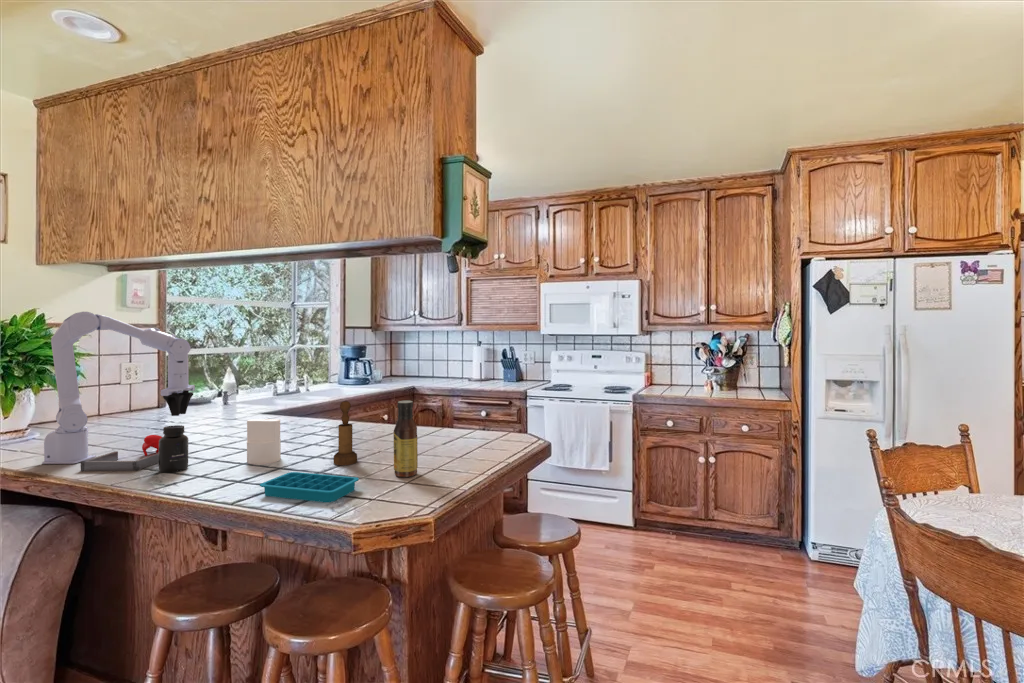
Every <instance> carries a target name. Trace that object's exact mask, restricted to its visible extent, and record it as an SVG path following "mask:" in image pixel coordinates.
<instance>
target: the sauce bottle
mask: <svg viewBox="0 0 1024 683" xmlns="http://www.w3.org/2000/svg"><path fill="white" fill-rule="evenodd" d="M413 407H414V401H413V400H400V401H397V408H398V410H397V420H396V423H395V426H394V429H393V470H394V471H393V472H394V475H395V476H396V477H398V478H399V477H400V478H412V477H414V476H415V475H418V474H417V473H418V464H419V463H418V459H419V458H418V457H419V456H418V455H419V454H418V453H419V452H418V426H417V423H416V421H415V420H414V419H413V416H414V415H413Z"/></svg>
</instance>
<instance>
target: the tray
mask: <svg viewBox="0 0 1024 683" xmlns="http://www.w3.org/2000/svg"><path fill="white" fill-rule="evenodd" d="M155 464H159V452H158V453H156V452H155V453H153V454H151V455H147V456H145V457H143V458H140V459H137V460H119V451H118V450H117V451H112V452H108V453H105V454H102V455H98V456H96V457H94V458H91V459H88V460H85V461H81V462H80V472H134V471H135V472H137V471H139V470H142V469H145V468H147V467H150V466H153V465H155Z"/></svg>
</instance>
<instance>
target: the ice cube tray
mask: <svg viewBox="0 0 1024 683" xmlns="http://www.w3.org/2000/svg"><path fill="white" fill-rule="evenodd" d="M359 480H360V479H359V477H356V476H345V475H336V474H335V475H334V474H333V475H332V474H323V473H310V472H298V471H290V472H287V473H284V474H281V475H280V476H277V477H273V478H271V479H269V480H266V481H264V482H262V483H259V487H261V488H264V496H265V497H271V498H281V499H290V500H291V499H292V500H299V501H300V500H301V501H309V502H320V503H333V502H335V501H337V500H339V499H341V498H342V497H345V496H346V495H348V494H350V493H353V492H354V491H355V488H356V487H355V486H356V483H357V482H358V481H359Z"/></svg>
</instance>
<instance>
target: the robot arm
mask: <svg viewBox="0 0 1024 683" xmlns="http://www.w3.org/2000/svg"><path fill="white" fill-rule="evenodd" d="M106 330H107V331H112V332H116V333H119V334H122V335H125V336H128V337H132V338H135V339H138V340H139V341H140V343H141V344H142V345H143V346H146V347H149V348H152V349H155V350H158V351H162V352H166V353H167V356H168V357H167V358H168V360H167V387H166V388H163V389H160V396H161V397H163V400H165V402H166V404H167V406H168V408H169V412H170V415H171V417H178V416H180V415H185V414H186V413H187V410H188V406H189V403H190V401H191V399H192V397H193V396H194V391H195V390H196V386H195V384H189V378H190V377H189V375H190V374H189V370H190V368H189V353H190V352H191V350H192V347H191V345H190V342H188V340H186V339H184V338H179V337H177V336H176V334H173V333H172V334H170V333H166V332H164V331H161V329H160V328H159V327H154V328H153V327H152V328H151V327H149V328H146V329H142V328H139V327H138V326H134V325H132V324H129V323H127V322H124V321H121V320H119V319H115V318H113V317H111V316H107V315H103V314H98V313H97V314H94V313H93V312H90V311H79V312H75V313H73V314H71V315H70V316H68V317H66V318H65V319H64V320H63V321H62V323H61V325H60V326H59V327H58V328H57V330H56V331H55V332H54V334H53V335H52V337H51V339H50V345H51V350H52V351H51V352H52V358H53V359H52V360H53V366H54V374H55V375H54V376H55V381H56V382H55V383H56V388H57V396H58V397H57V398H58V411H57V414H56V416H55V419H56V423H57V424H58V425H59V426H58V427H57V428H56V429H55V430H53V431H51V432H49V433H48V434H47V435H46V436H45V437H44V441H43V453H44V454H43V456H44V457H43V458H44V459H43V460H44V461H41V464H42V465H44V464H46V465H55V464H58V465H61V464H62V465H63V464H66V465H67V464H68V465H69V464H70V465H72V464H78V463H81V462H82V461H85V460H88V459H92V458H95V457H97V455H93V454H91V455H89V438H88V437H89V427H87V423H88V419H89V418H88V415H87V414H86V413H85V412H84V410H83V407H82V406H83V405H82V401H81V398H80V390H79V384H78V383H79V382H78V374H77V365H76V359H75V351H74V344H75V343H77V342H78V341H79V340H80V339H82V337H85V336H86V335H88V334H90V333H93V332H95V331H106Z"/></svg>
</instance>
